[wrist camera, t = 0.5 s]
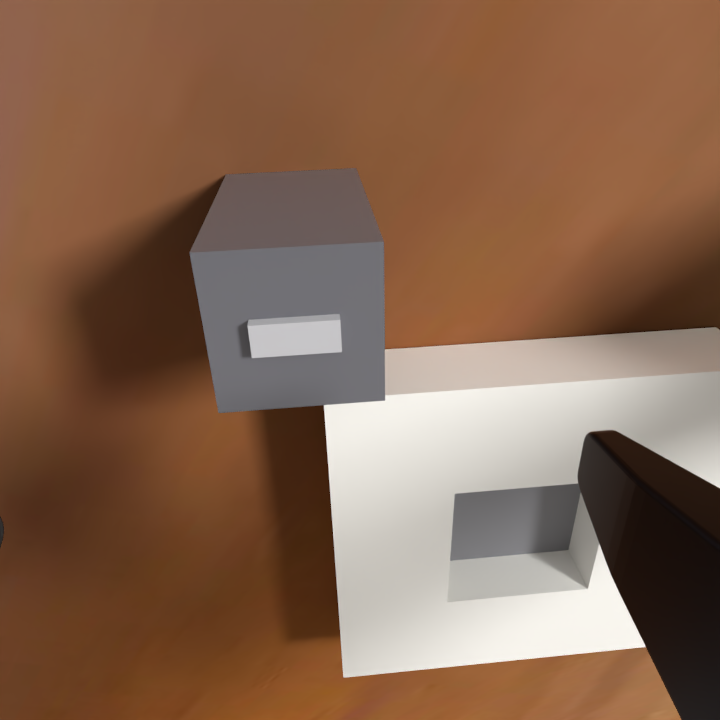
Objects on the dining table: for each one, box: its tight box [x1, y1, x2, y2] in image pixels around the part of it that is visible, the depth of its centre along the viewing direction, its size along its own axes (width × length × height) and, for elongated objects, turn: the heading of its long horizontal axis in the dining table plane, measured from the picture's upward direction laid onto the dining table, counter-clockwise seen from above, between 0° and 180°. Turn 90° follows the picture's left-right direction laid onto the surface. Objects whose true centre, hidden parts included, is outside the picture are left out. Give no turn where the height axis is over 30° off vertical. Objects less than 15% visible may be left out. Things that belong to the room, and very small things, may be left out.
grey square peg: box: [190, 168, 385, 413], centre depth 16 cm, size 4×4×7 cm
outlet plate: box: [324, 327, 720, 678], centre depth 24 cm, size 15×15×3 cm
